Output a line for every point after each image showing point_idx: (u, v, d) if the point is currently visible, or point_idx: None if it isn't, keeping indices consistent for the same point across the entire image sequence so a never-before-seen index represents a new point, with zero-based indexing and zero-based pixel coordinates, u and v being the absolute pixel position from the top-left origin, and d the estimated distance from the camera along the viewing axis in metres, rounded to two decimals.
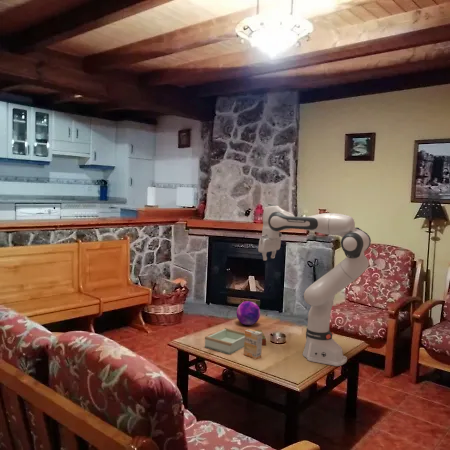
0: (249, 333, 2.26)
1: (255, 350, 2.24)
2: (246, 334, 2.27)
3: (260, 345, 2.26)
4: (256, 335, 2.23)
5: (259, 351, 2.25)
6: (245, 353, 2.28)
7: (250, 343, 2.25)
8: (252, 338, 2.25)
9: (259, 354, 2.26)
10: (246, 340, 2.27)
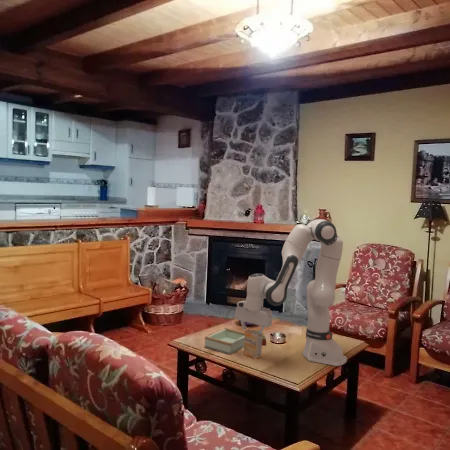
0: (249, 333, 2.26)
1: (255, 350, 2.24)
2: (246, 334, 2.27)
3: (260, 345, 2.26)
4: (256, 335, 2.23)
5: (259, 351, 2.25)
6: (245, 353, 2.28)
7: (250, 343, 2.25)
8: (252, 338, 2.25)
9: (259, 354, 2.26)
10: (246, 340, 2.27)
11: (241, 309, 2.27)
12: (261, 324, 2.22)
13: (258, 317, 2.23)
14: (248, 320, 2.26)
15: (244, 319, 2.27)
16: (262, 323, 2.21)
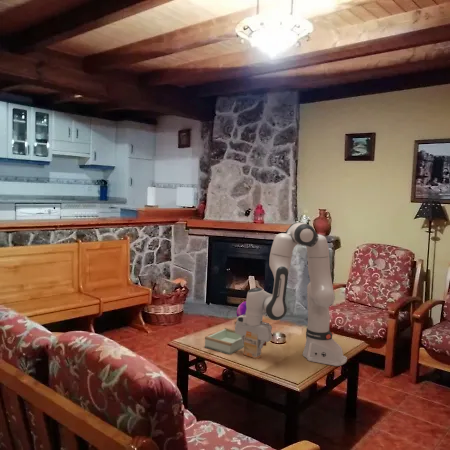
0: (249, 333, 2.26)
1: (255, 350, 2.24)
2: (246, 334, 2.27)
3: None
4: (256, 335, 2.23)
5: (259, 350, 2.25)
6: (245, 353, 2.28)
7: (250, 343, 2.26)
8: (252, 337, 2.25)
9: (259, 354, 2.26)
10: (245, 340, 2.27)
11: (241, 324, 2.28)
12: (261, 339, 2.22)
13: (258, 331, 2.23)
14: None
15: (244, 334, 2.28)
16: (262, 338, 2.22)
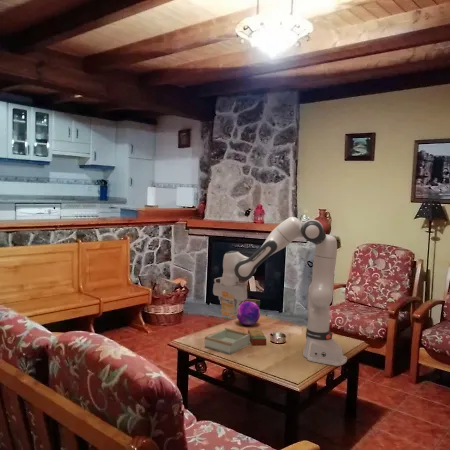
0: (226, 293, 2.38)
1: (232, 309, 2.36)
2: (223, 294, 2.39)
3: None
4: (232, 294, 2.35)
5: (235, 309, 2.37)
6: (222, 313, 2.40)
7: (227, 303, 2.37)
8: (228, 297, 2.37)
9: (235, 313, 2.38)
10: (223, 300, 2.39)
11: (218, 285, 2.40)
12: (237, 298, 2.34)
13: (234, 291, 2.35)
14: None
15: (221, 294, 2.40)
16: (238, 297, 2.34)
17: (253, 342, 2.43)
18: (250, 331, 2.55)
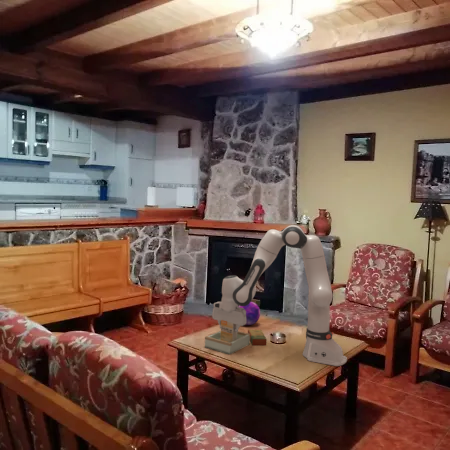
0: (225, 322, 2.39)
1: (231, 338, 2.37)
2: (222, 323, 2.40)
3: (236, 333, 2.39)
4: (232, 324, 2.36)
5: (234, 338, 2.39)
6: None
7: (226, 331, 2.39)
8: (228, 326, 2.38)
9: None
10: (222, 329, 2.40)
11: (217, 309, 2.41)
12: (236, 323, 2.35)
13: (233, 316, 2.36)
14: (224, 320, 2.39)
15: (221, 319, 2.41)
16: (237, 322, 2.35)
17: (253, 342, 2.43)
18: (250, 331, 2.55)
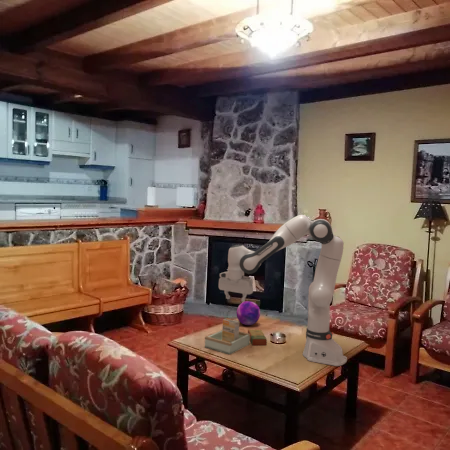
0: (226, 322, 2.39)
1: (233, 338, 2.38)
2: (224, 323, 2.40)
3: (237, 333, 2.40)
4: (233, 323, 2.37)
5: (236, 338, 2.39)
6: None
7: (228, 331, 2.39)
8: (229, 326, 2.38)
9: None
10: (224, 328, 2.41)
11: (224, 279, 2.40)
12: (243, 292, 2.34)
13: (240, 285, 2.35)
14: (231, 289, 2.39)
15: (227, 289, 2.40)
16: (243, 291, 2.34)
17: (253, 342, 2.43)
18: (250, 331, 2.55)
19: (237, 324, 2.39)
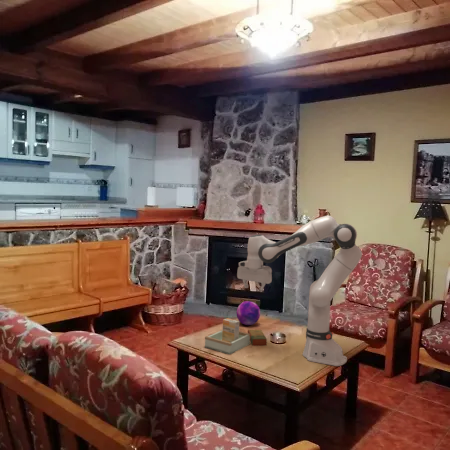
0: (227, 322, 2.40)
1: (233, 338, 2.38)
2: (224, 323, 2.41)
3: (237, 333, 2.40)
4: (234, 323, 2.37)
5: (236, 338, 2.39)
6: None
7: (228, 331, 2.39)
8: (230, 326, 2.38)
9: None
10: (224, 328, 2.41)
11: (243, 268, 2.43)
12: (262, 281, 2.37)
13: (259, 274, 2.38)
14: (249, 278, 2.41)
15: (246, 278, 2.42)
16: (262, 280, 2.36)
17: (253, 342, 2.43)
18: (250, 331, 2.55)
19: (237, 324, 2.39)
